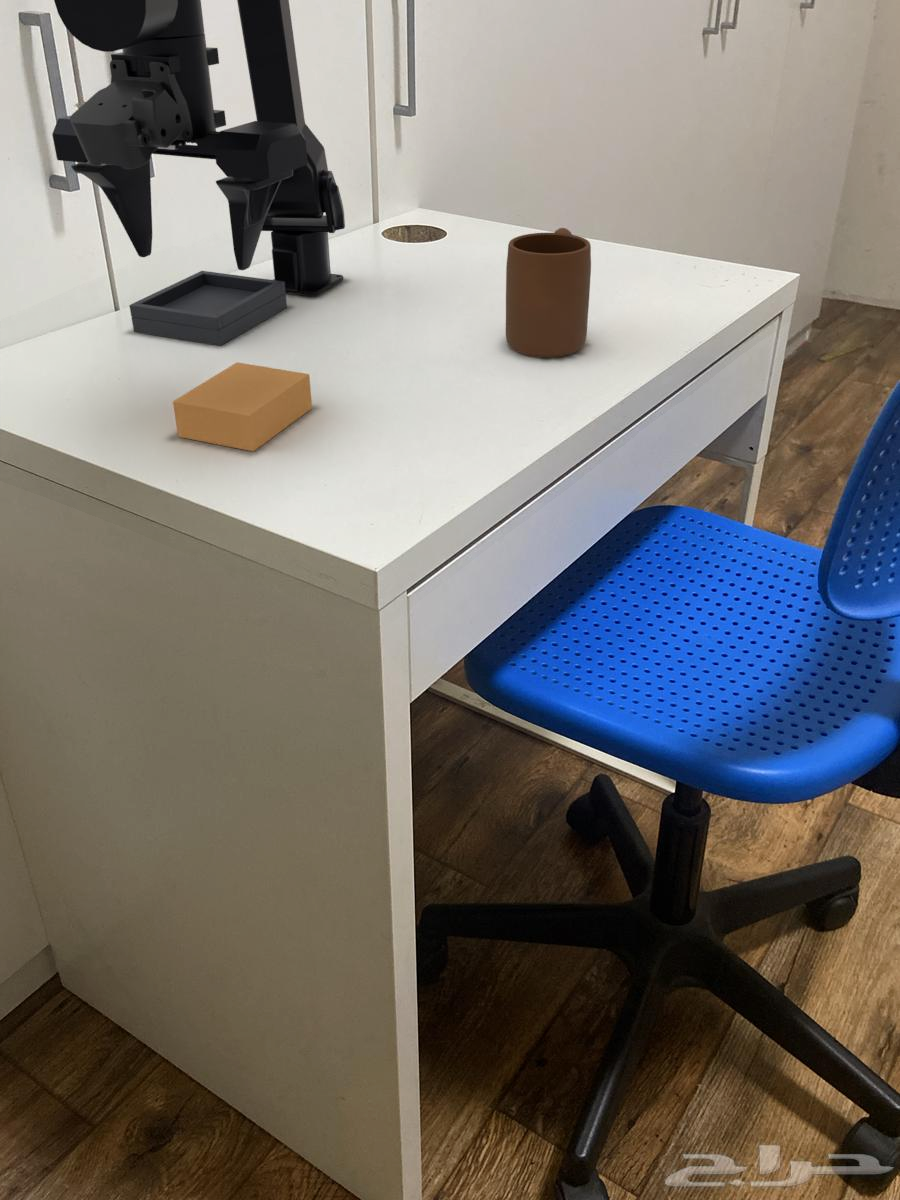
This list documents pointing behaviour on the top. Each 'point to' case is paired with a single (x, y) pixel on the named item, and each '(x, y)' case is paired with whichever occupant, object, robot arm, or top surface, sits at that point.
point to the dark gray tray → (208, 307)
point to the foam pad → (243, 406)
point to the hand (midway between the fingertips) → (193, 262)
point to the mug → (547, 293)
